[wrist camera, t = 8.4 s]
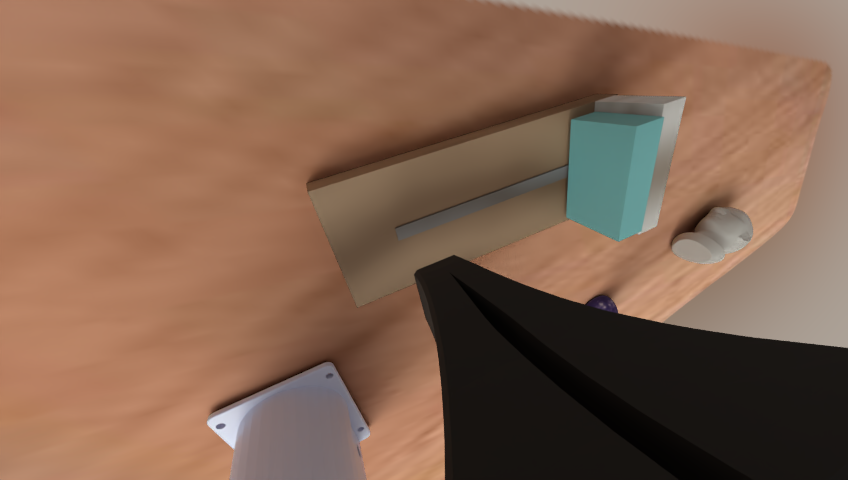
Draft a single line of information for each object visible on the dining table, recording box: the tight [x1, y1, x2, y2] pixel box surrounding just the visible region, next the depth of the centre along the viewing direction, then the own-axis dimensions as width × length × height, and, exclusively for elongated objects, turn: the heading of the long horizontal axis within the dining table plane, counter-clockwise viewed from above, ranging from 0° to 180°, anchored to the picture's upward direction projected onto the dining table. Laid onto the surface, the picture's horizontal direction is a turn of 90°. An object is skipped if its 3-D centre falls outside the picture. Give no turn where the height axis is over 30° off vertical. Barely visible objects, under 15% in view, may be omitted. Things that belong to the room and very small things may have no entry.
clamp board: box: [307, 94, 686, 308], centre depth 17 cm, size 8×19×6 cm, turn 102°
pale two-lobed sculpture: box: [672, 207, 753, 264], centre depth 30 cm, size 4×8×5 cm
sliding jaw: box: [566, 112, 664, 242], centre depth 18 cm, size 6×2×4 cm, turn 12°
